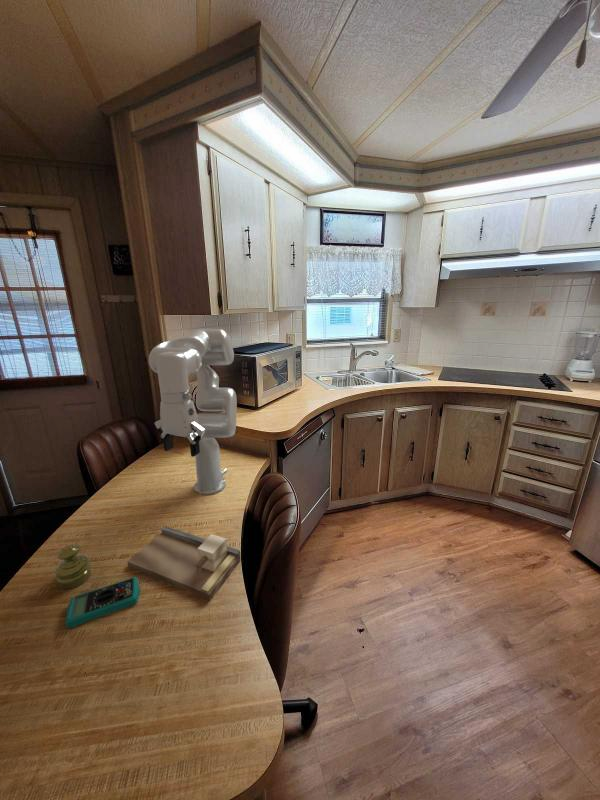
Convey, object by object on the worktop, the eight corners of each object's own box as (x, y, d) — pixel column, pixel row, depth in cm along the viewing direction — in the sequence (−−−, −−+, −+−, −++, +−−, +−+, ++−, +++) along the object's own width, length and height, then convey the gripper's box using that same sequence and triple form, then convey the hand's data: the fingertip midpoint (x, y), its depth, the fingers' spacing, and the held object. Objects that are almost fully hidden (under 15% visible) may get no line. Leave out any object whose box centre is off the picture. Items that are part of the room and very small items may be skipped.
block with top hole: (212, 551, 89) (211, 534, 88) (227, 556, 87) (226, 538, 86) (191, 574, 81) (189, 556, 79) (207, 580, 79) (205, 561, 78)
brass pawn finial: (62, 572, 84) (54, 542, 81) (94, 564, 87) (88, 534, 84) (54, 594, 78) (45, 562, 75) (88, 584, 80) (81, 553, 78)
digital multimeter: (139, 604, 75) (138, 595, 75) (66, 631, 69) (63, 621, 68) (139, 582, 82) (138, 573, 81) (72, 605, 75) (70, 595, 74)
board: (166, 535, 98) (164, 525, 98) (240, 560, 89) (240, 550, 88) (128, 567, 86) (126, 557, 85) (210, 600, 76) (209, 589, 75)
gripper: (209, 396, 86) (214, 451, 91) (161, 390, 92) (168, 442, 97) (191, 404, 79) (197, 463, 84) (141, 396, 85) (149, 452, 90)
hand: (182, 451), depth 90 cm, fingers open, 9 cm apart
